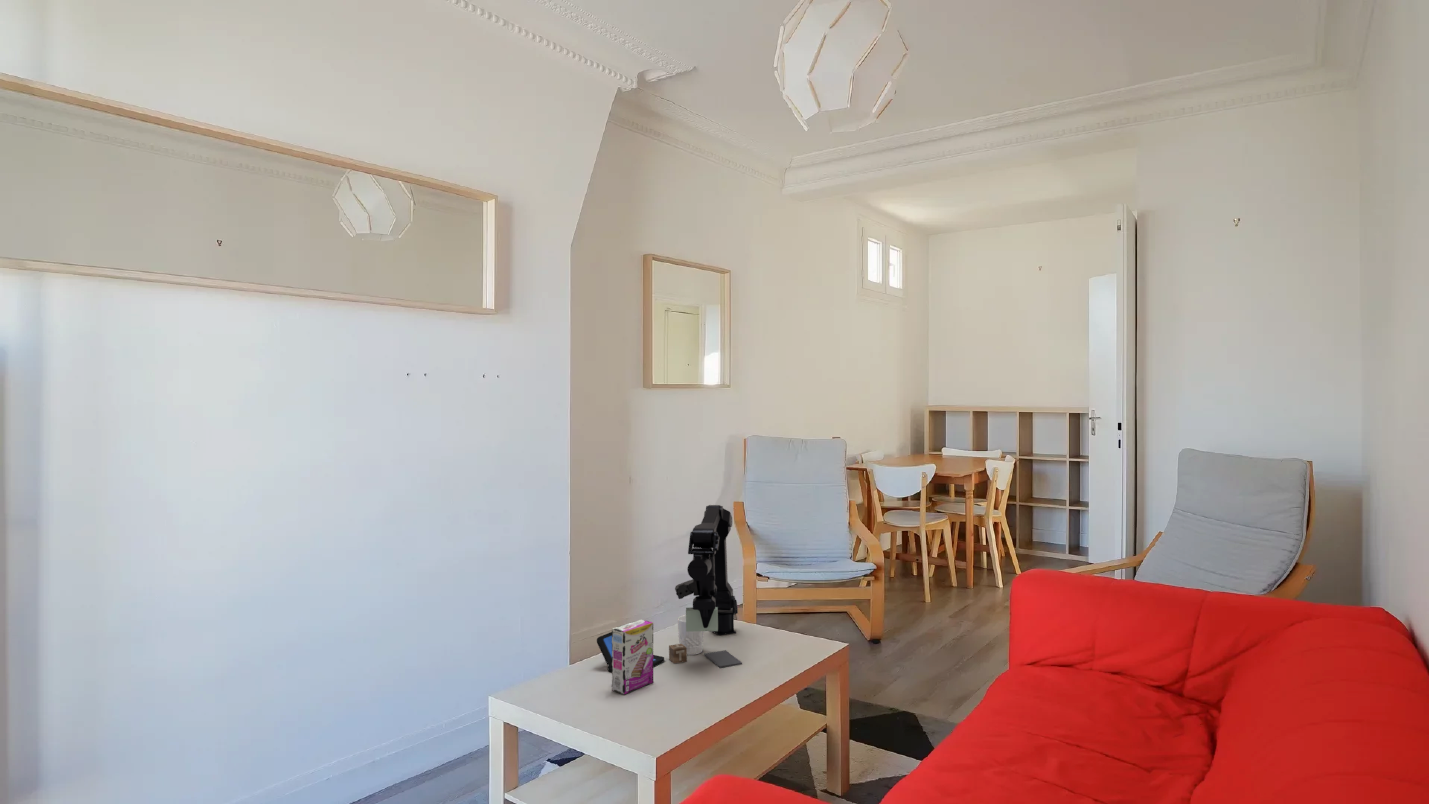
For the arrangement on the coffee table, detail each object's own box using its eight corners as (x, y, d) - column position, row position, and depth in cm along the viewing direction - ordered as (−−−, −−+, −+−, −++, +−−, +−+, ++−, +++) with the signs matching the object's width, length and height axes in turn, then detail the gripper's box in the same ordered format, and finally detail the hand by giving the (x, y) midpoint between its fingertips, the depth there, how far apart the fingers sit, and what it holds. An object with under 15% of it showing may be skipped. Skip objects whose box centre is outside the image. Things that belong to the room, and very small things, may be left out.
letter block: (682, 657, 224) (681, 642, 224) (687, 661, 220) (686, 647, 220) (669, 659, 222) (668, 644, 222) (673, 663, 218) (673, 649, 218)
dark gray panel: (725, 651, 228) (725, 650, 228) (742, 664, 217) (742, 662, 217) (703, 655, 225) (703, 653, 225) (719, 668, 214) (719, 666, 214)
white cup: (674, 649, 231) (673, 616, 231) (698, 645, 234) (697, 613, 234) (684, 657, 224) (683, 623, 224) (708, 653, 227) (708, 619, 227)
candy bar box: (624, 695, 195) (623, 631, 195) (611, 691, 198) (610, 628, 198) (655, 682, 204) (654, 621, 204) (641, 678, 207) (640, 618, 207)
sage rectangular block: (718, 627, 219) (717, 607, 219) (717, 631, 216) (717, 610, 216) (686, 628, 220) (686, 607, 220) (686, 631, 217) (685, 610, 217)
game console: (633, 678, 208) (632, 645, 208) (595, 670, 215) (594, 638, 215) (666, 661, 221) (666, 630, 221) (629, 654, 228) (629, 624, 228)
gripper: (678, 564, 227) (679, 616, 228) (674, 580, 209) (675, 636, 209) (716, 564, 227) (717, 616, 227) (714, 579, 208) (715, 636, 209)
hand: (705, 626), depth 218 cm, fingers closed on sage rectangular block, 3 cm apart
